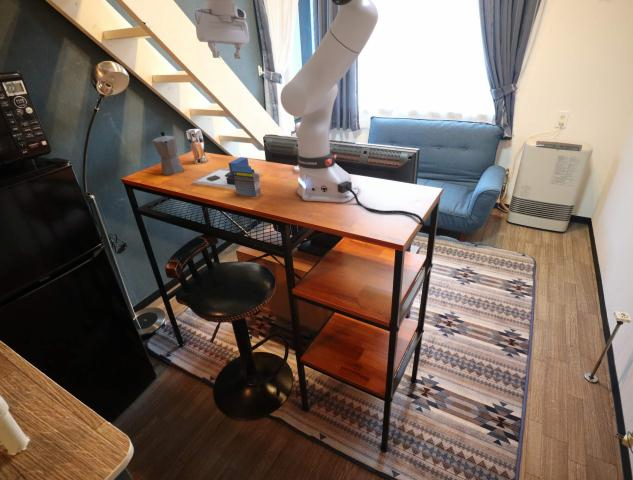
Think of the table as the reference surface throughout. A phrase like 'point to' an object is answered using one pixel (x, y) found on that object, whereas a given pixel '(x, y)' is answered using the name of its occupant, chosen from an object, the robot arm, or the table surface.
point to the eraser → (238, 161)
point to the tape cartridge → (246, 181)
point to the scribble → (213, 178)
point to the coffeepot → (168, 154)
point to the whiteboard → (219, 182)
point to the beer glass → (196, 145)
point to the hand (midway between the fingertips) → (227, 58)
